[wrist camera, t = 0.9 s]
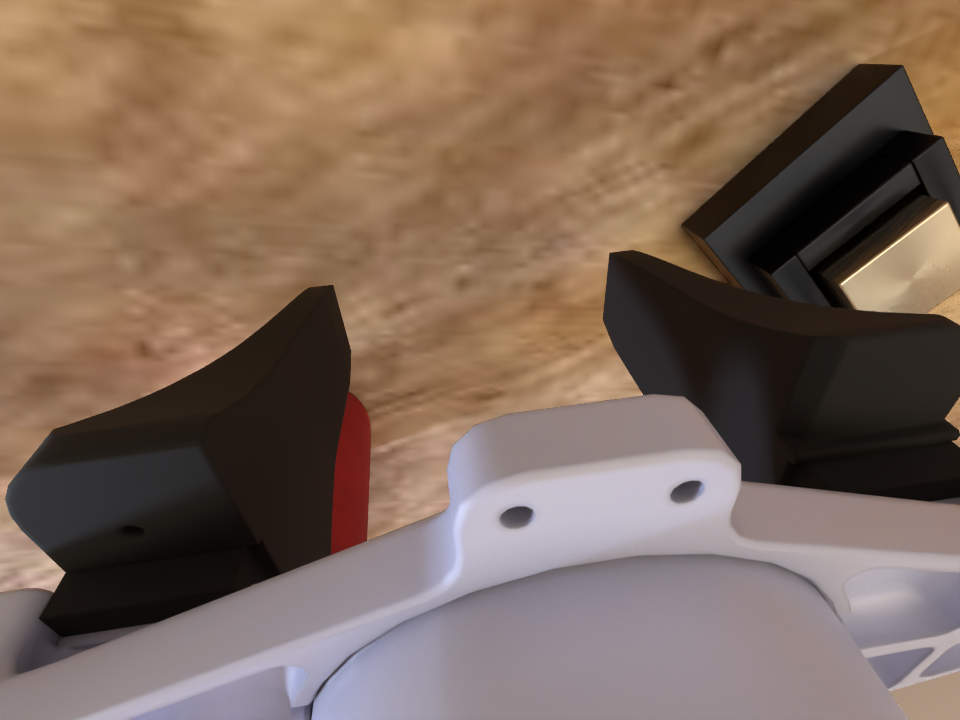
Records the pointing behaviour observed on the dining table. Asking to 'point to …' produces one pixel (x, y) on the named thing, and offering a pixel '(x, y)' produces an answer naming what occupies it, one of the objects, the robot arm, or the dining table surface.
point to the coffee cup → (351, 478)
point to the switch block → (824, 185)
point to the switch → (897, 260)
